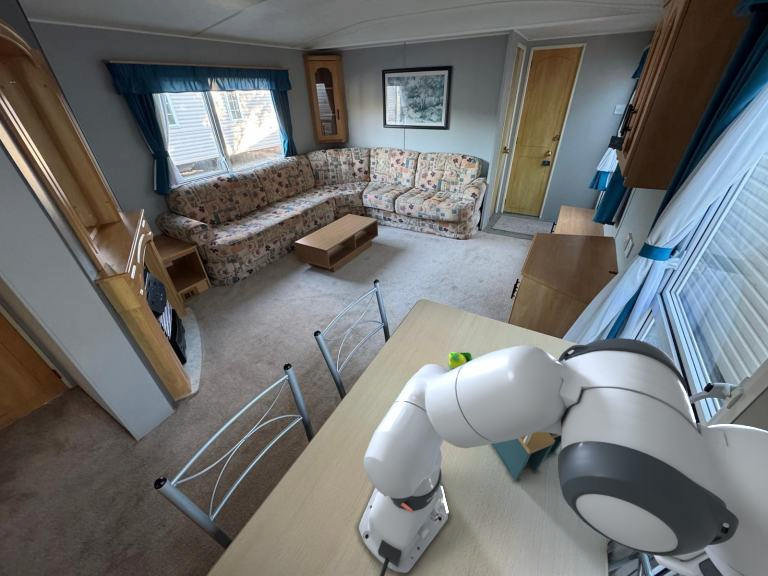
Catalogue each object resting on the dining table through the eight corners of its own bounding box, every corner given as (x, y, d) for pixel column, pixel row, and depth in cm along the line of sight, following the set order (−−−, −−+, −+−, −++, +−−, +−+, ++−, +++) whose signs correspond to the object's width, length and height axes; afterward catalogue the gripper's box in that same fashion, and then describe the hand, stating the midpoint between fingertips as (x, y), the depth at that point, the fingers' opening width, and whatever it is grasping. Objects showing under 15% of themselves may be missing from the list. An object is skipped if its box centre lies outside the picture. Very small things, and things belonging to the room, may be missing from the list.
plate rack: (560, 461, 81) (597, 406, 65) (514, 481, 77) (541, 428, 62) (529, 421, 90) (555, 364, 75) (487, 437, 87) (505, 382, 71)
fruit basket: (475, 388, 100) (481, 366, 93) (449, 389, 100) (452, 367, 93) (468, 361, 109) (472, 340, 102) (444, 362, 109) (446, 340, 102)
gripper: (785, 525, 46) (720, 430, 51) (691, 586, 41) (630, 475, 46) (736, 515, 52) (683, 430, 57) (649, 567, 47) (599, 470, 52)
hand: (658, 450), depth 52 cm, fingers closed on block, 3 cm apart
